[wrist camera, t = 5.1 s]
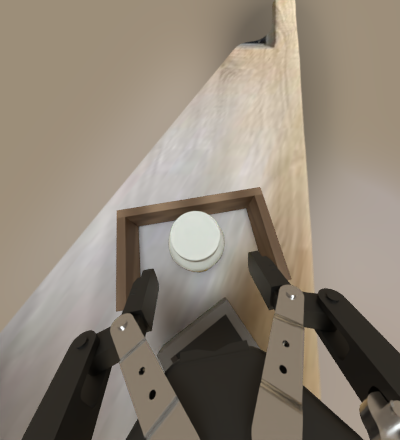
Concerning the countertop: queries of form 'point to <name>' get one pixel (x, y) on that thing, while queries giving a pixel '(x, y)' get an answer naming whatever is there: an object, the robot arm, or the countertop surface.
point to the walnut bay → (172, 210)
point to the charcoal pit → (207, 334)
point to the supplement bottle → (196, 241)
